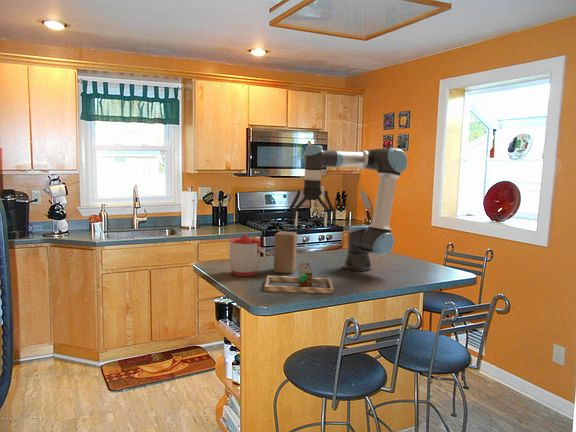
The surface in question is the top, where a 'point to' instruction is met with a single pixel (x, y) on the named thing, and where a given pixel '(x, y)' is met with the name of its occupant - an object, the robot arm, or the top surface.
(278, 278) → the trap channel
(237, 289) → the top surface
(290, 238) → the block
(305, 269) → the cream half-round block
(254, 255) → the citrus juicer
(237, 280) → the top surface
